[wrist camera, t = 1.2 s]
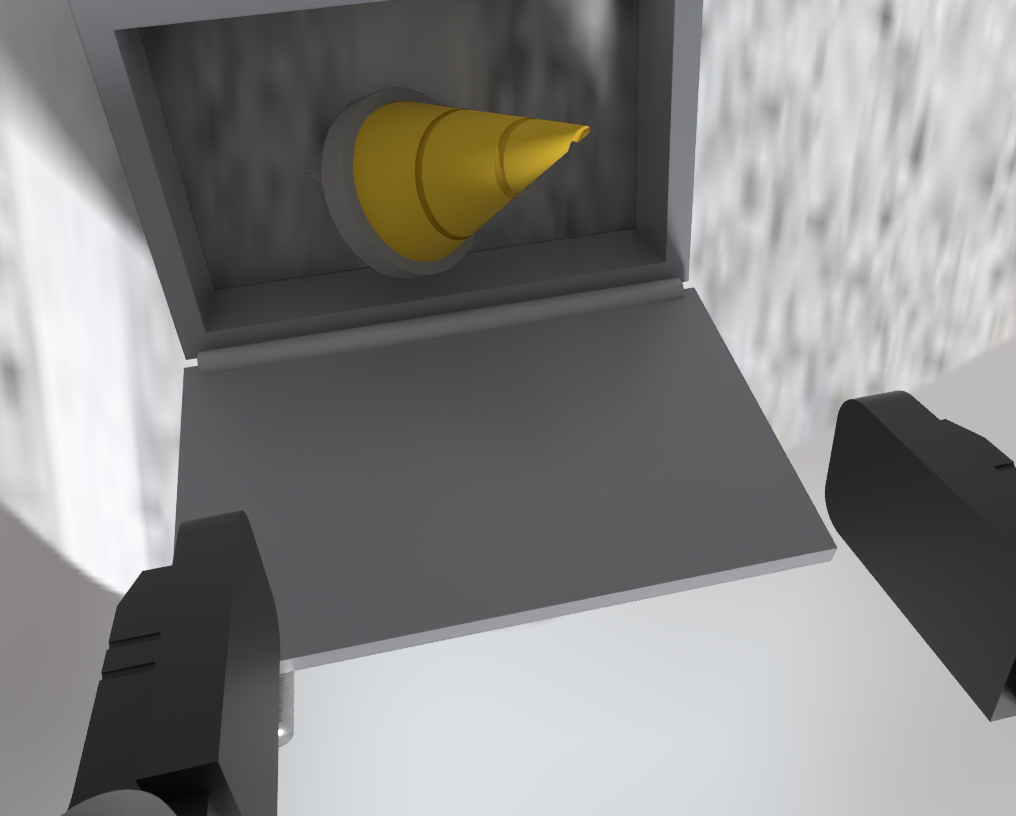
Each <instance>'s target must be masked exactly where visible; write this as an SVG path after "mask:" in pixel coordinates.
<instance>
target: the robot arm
mask: <svg viewBox="0 0 1016 816" xmlns="http://www.w3.org/2000/svg"><path fill="white" fill-rule="evenodd" d="M825 500H826V506H827V510H828V514H829V517H830V519H831V521H832V524H833V525H834V527H835V529H836V531H837V532H838V533H839V535H840V536H841V537H842V538H843V540H844V541H845V542H846V543H847V545H848V546H849V547H850V548H851V550H852V551H853V552H854V553H855V554H856V556H857V557H858V558H859V560H860V561H861V562H862V563H863V565H864V566H865V567H866V568H867V569H868V571H869V572H870V573H871V574H872V576H873V577H874V578H875V579H876V581H877V582H878V583H879V584H880V586H881V587H882V588H883V589H884V591H885V592H886V593H887V594H888V596H889V597H890V598H891V599H892V601H893V602H894V603H895V604H896V605H897V607H898V608H899V609H900V610H901V612H902V613H903V614H904V615H905V617H906V618H907V619H908V620H909V622H910V623H911V624H912V625H913V626H914V628H915V629H916V630H917V632H918V633H919V634H920V635H921V637H922V638H923V639H924V640H925V641H926V643H927V644H928V645H929V646H930V648H931V649H932V650H933V651H934V653H935V654H936V655H937V656H938V658H939V659H940V660H941V661H942V663H943V664H944V665H945V666H946V668H947V669H948V670H949V671H950V673H951V674H952V675H953V676H954V677H955V679H956V680H957V681H958V682H959V684H960V685H961V686H962V687H963V689H964V690H965V691H966V692H967V694H969V696H970V697H971V699H972V700H973V701H974V702H975V704H976V705H977V706H978V707H979V709H981V711H982V712H983V713H984V715H985V716H986V717H987V718H988V720H989V721H990V722H992V721H996V720H999V719H1003V718H1008V717H1012V716H1016V468H1015V466H1014V462H1013V461H1012V460H1011V459H1009V458H1008V457H1007V456H1006V455H1005V454H1004V453H1002V452H1001V451H1000V450H999V449H998V448H997V447H995V446H994V445H993V444H992V443H991V442H989V441H988V440H987V439H986V438H984V437H982V436H980V435H978V434H976V433H974V432H972V431H970V430H968V429H965V428H963V427H961V426H959V425H957V424H955V423H953V422H951V421H948V420H947V419H944V420H939V419H938V418H937V417H936V416H935V415H933V414H932V413H931V412H930V411H929V410H928V409H927V408H925V407H924V406H923V405H922V404H921V403H920V402H919V401H917V400H916V399H915V398H914V397H913V396H911V395H910V394H909V393H907V392H905V391H893V392H888V393H882V394H877V395H872V396H866V397H861V398H855V399H850V400H847V401H845V402H844V403H843V404H842V406H841V407H840V410H839V413H838V417H837V423H836V429H835V434H834V440H833V446H832V451H831V457H830V463H829V469H828V474H827V480H826V486H825ZM101 673H102V680H101V681H99V685H98V689H97V693H96V698H95V702H94V706H93V710H92V714H91V719H90V723H89V727H88V731H87V736H86V740H85V744H84V748H83V752H82V757H81V761H80V765H79V769H78V773H77V778H76V782H75V786H74V790H73V794H72V798H71V802H70V804H69V808H68V810H67V812H65V813H64V814H62V815H61V816H277V792H278V791H277V790H278V788H277V787H278V737H279V681H280V633H279V623H278V616H277V611H276V606H275V601H274V597H273V594H272V591H271V588H270V584H269V581H268V578H267V575H266V572H265V569H264V565H263V562H262V559H261V556H260V553H259V550H258V546H257V543H256V540H255V537H254V534H253V531H252V527H251V524H250V521H249V519H248V516H247V515H246V513H245V512H244V511H243V510H241V511H235V512H230V513H224V514H219V515H214V516H208V517H203V518H197V519H192V520H187V521H183V522H181V524H180V526H179V530H178V535H177V541H176V547H175V552H174V558H173V564H172V566H167V567H161V568H156V569H151V570H146V571H142V573H141V574H140V575H139V577H138V578H137V579H136V581H135V582H134V584H133V585H132V586H131V588H130V589H129V590H128V592H127V593H126V594H125V596H124V597H123V599H122V600H121V602H120V603H119V604H118V606H117V609H116V613H115V618H114V621H113V626H112V630H111V634H110V639H109V649H108V650H107V651H106V655H105V660H104V664H103V668H102V672H101Z"/></svg>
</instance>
